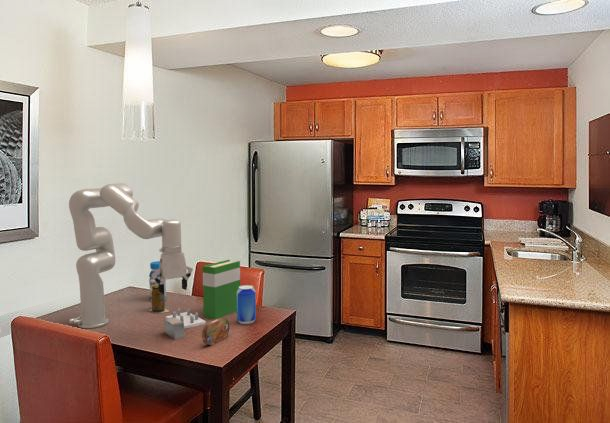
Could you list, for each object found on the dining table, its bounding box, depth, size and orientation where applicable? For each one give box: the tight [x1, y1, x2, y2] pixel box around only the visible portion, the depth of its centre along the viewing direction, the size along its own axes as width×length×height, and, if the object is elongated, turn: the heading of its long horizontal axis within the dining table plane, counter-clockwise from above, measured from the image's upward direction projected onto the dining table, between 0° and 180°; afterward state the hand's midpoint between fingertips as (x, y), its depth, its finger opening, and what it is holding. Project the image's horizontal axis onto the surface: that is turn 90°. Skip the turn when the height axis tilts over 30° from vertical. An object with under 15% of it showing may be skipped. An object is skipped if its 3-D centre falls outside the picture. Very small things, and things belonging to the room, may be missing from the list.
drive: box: [164, 317, 185, 340], centre depth 194 cm, size 4×10×6 cm, turn 39°
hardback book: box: [202, 259, 241, 320], centre depth 222 cm, size 18×7×24 cm, turn 147°
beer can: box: [236, 284, 257, 325], centre depth 210 cm, size 8×8×16 cm
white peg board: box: [165, 307, 207, 330], centre depth 211 cm, size 11×18×4 cm, turn 39°
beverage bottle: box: [148, 260, 167, 302], centre depth 244 cm, size 8×8×20 cm
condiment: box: [148, 285, 170, 314], centre depth 226 cm, size 7×8×12 cm
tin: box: [201, 317, 230, 346], centre depth 187 cm, size 15×3×8 cm, turn 153°
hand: (173, 291), depth 192 cm, fingers open, 9 cm apart
